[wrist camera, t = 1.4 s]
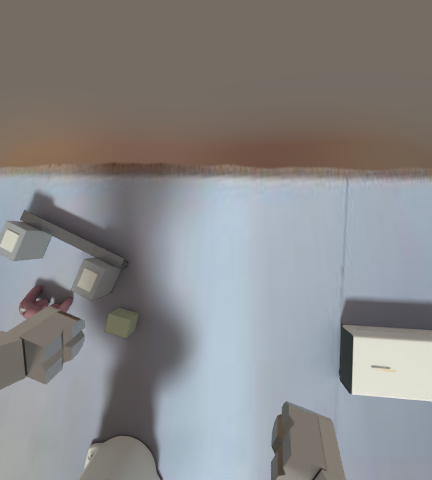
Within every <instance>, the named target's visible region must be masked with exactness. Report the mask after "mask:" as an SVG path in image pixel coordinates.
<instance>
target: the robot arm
mask: <svg viewBox="0 0 432 480" xmlns="http://www.w3.org/2000/svg"><path fill="white" fill-rule="evenodd" d="M84 328H85V321H84V320H82V319H80V318H77V317H75V316H73V315H71V314H68V313H66V312H64V311H61V310H59V309H57V308H54V307H52V306H50V307H46V308H44V309H43V310H41V311H39V312H38V313H36V314H35V315H33V316H32V317H30V318H28V319H27V320H25V321H24V322H22V323H21V324H19V325H17V326H16V327H14V328H13V329H11V330H9V331H8V332H4V331H1V332H0V390H1V389H3V388H5V387H7V386H9V385H11V384H13V383H15V382H17V381H20V380H22V379H24V378H25V377H26V376H27V377H29V378H32V379H34V380H36V381H39V382H41V383H44V384H47V383H48V382H49V381H50V380H51V379H52V378H53V377H55V376H56V375H57V374H58V373H59V372H60V371H61V370H62V367H63V363H65V362H67V361H70V360H72V359H73V358H74V357H75V356H76V355H77V354H78V352H79V351H80V349H81V348H82V346H83V343H84V339H85V336H84V334H83V332H82V329H84ZM271 446H272V449H273V451H274V453H275V456H274V458H273V460H272V461H271V480H346V479H345V475H344V470H343V466H342V461H341V457H340V452H339V448H338V443H337V439H336V434H335V430H334V425H333V422H332V420H331V419H330V418H327V417H325V416H322V415H320V414H317V413H314V412H313V411H310V410H308V409H305V408H303V407H300V406H297V405H295V404H292V403H290V402H287V401H286V402H285V403H284V404H283V406H282V414H280V415H278V416H277V418H276V420H275V422H274V426H273V430H272V444H271ZM78 480H161V479H160V478H159V476H158V474H157V471H156V465H155V461H154V458H153V456H152V454H151V452H150V451H149V449H148V448H147V447H146V446H145V445H144V444H143V443H142V442H140V441H139V440H137V439H135V438H132V437H128V436H117V437H114V438H111V439H109V440H107V441H106V442H103V443H94V444H92V445H91V446H90V448H89V450H88V454H87V458H86V463H85V467H84V471H83V472H82V474H81V476H80V477H79V479H78Z"/></svg>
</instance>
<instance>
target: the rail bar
mask: <svg viewBox="0 0 432 480" xmlns="http://www.w3.org/2000/svg"><path fill="white" fill-rule="evenodd" d="M20 220H21V221H23V222H25V223H27V224H29V225H31V226H34V227H36V228H38V229H40V230H42V231H44V232H46V233H48V234H50V235H52V236H54V237H56V238H58V239H60V240H62V241H64V242H66V243H68V244H70V245H72V246H74V247H76V248H78V249H80V250H82V251H84V252H86V253H88V254H90V255H92V256H94V257H97V258H99V259H101V260H103V261H105V262H107V263H109V264H111V265H113V266H115V267H117V268H119V269H121V268H125V267H127V266H128V263H129V262H127V261H125V260H124V258H122V257H120V256H118V255H116V254H114V253H112V252H110V251H108V250H106V249H104V248H102V247H100V246H97V245H95V244H93V243H91V242H89V241H87V240H85V239H83V238H81V237H79V236H77V235H75V234H73V233H71V232H69V231H67V230H65V229H63V228H60V227H58V226H56V225H54V224H52V223H50V222H48V221H46V220H44V219H42V218H40V217H38V216H36V215H34V214H32V213H30V212H28V211H26V210H24V212H23V214H22V216H21V219H20Z"/></svg>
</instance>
